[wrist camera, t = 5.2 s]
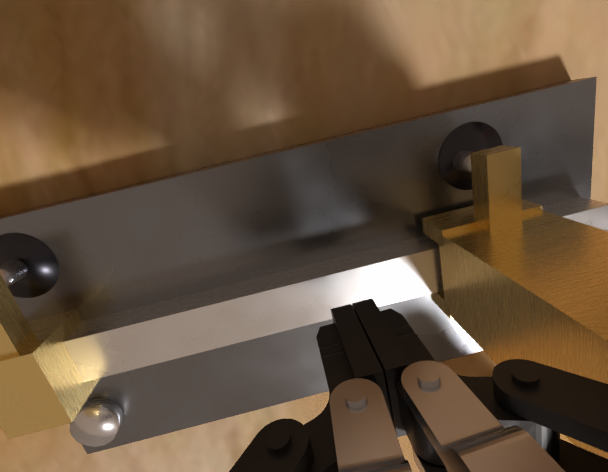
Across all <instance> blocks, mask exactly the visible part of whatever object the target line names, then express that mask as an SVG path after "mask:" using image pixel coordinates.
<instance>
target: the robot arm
mask: <svg viewBox="0 0 608 472" xmlns="http://www.w3.org/2000/svg"><path fill="white" fill-rule="evenodd" d="M331 314H332V319H333V324H329V325H325V326H321V327H320V328H319V331H318V333H317V336H316V338H317V343H318V347H319V351H320V355H321V359H322V363H323V367H324V371H325V375H326V380H327V384H328V388H329V393H330V396H329V401H328V404H327V406H326V407H325V409H324V410H323V411H322V413H321V414H320V415H318V416H317V417H316V418H314V419H313V420H311V421H310V422H308V423H306V424H304V425H303V424H301V423H300V422H298V421H296V420H293V419H280V420H276V421H274V422H271V423H270V424H268V425H266V426H265V427H264V428H263V429H262V430H260V432H259V433H258V434H257V435H256V437H255V438H254V439H253V441H252V442H251V443H250V445H249V446H248V447H247V449H246V450H245V451H244V453H243V454H242V455H241V457H240V458H239V459H238V461H237V462H236V463H235V465H234V466H233V467H232V469H231V470H230V471H229V472H412V470H411V467H410V465H409V462H408V461H407V460H405V459H404V456H403V453H402V450H401V447H400V444H399V441H398V438H397V437H400V436H404V435H407V436H408V438H409V440H410V442H411V445H412V450H413V456H414V460H415V463H416V465H417V467H418V469H419V471H420V472H608V459H606V458H604V457H602V456H599V455H597V454H595V453H592V452H590V451H587V450H585V449H583V448H580V447H578V446H576V445H573V444H571V443H569V442H566V441H564V440H561V439H560V433H561V434H563V435H566V436H568V437H571V438H573V439H576V440H578V441H580V442H583V443H585V444H588V445H590V446H593V447H595V448H597V449H600V450H602V451H605V452H607V453H608V384H606V383H603V382H600V381H596V380H593V379H590V378H586V377H583V376H580V375H577V374H573V373H570V372H567V371H563V370H560V369H557V368H554V367H550V366H547V365H544V364H540V363H537V362H534V361H530V360H524V359H510V360H506V361H503V362H501V363H499V364H498V365H496V367H495V368H494V370H493V377H466V376H460V375H457V374H456V373H455V372H454V371H453V370H452V369H451V368H450V367H448V366H447V365H445V364H443V363H440V362H436V361H435V360H434V358H433V357H432V355H431V354H430V353H429V351H428V350H427V348H426V347H425V346H424V344H423V343H422V341H421V340H420V339H419V337H418V336H417V334H416V333H415V332H414V330H413V329H412V328H411V326H409V323H408V322H407V321H406V319H405V318H404V316H403V315H402V314H400V313H398V312H396V311H395V310H393V309H391V308H390V309H387V310H383V311H380V310H379V308H378V307H377V305H376V303H375V302H374V300H373V299H372V298H371V299H367V300H363V301H360V302H356V303H352V305H351V304H348V305H344V306H340V307H336V308H333V309H331Z"/></svg>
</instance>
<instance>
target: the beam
mask: <svg viewBox="0 0 608 472" xmlns="http://www.w3.org/2000/svg"><path fill="white" fill-rule="evenodd" d="M542 210H543V211H546V212H549V213H552V214H555V215H558V216H561V217H564V218H568V219H571V220H574V221H577V222H580V223H583V224H586V225H589V226H593V227H596V228H599V229H602V230H605V231H608V203H603V202H599V201H595V200H591V199H587V198H582V197H578V198H574V199H570V200H566V201H562V202H558V203H554V204H550V205H546V206H542ZM26 274H27V267H26V265H25V264H24V263H23V262H21V261H19V260H10V261H8V262H6V263H4V264H3V265H1V266H0V427H1V429H2V430H3V432H4V433H5V435H6V436H7V438H8V439H10V438H14V437H18V436H22V435H26V434H30V433H34V432H38V431H41V430H45V429H49V428H53V427H57V426H61V425H65V424H68V423H72V422H73V420H74V419H75V417H76V416H77V414H78V412H79V411H80V409H81V408H82V406H83V405H84V403H85V401H86V400H87V398H88V397H89V395H90V394H91V392H92V390H93V389H94V387H95V386H96V384H97V383H98V381H99V380H100V378H102V377H106V376H110V375H114V374H118V373H122V372H126V371H130V370H134V369H138V368H142V367H146V366H149V365H153V364H157V363H161V362H165V361H169V360H173V359H177V358H181V357H185V356H189V355H193V354H196V353H200V352H204V351H208V350H212V349H216V348H220V347H224V346H228V345H232V344H236V343H239V342H243V341H247V340H251V339H255V338H259V337H263V336H267V335H271V334H275V333H279V332H283V331H286V330H290V329H294V328H298V327H302V326H306V325H310V324H314V323H318V322H322V321H326V320H330V319H332V314H331V309H333V308H336V307H340V306H344V305H348V304H351V305H352V303H356V302H360V301H363V300H367V299H371V298H372V299H373V300H374V302H375V303H376V305H377V307H380V306H384V305H388V304H392V303H396V302H400V301H404V300H408V299H412V298H416V297H420V296H423V295H427V294H431V293H435V292H439V291H443V281H442V271H441V261H440V251H439V244H438V243H437V242H435V241H434V240H432V239H431V238H430V237H428V236H427V235H426V236H422V237H418V238H414V239H410V240H406V241H402V242H398V243H394V244H390V245H386V246H382V247H378V248H374V249H370V250H366V251H362V252H358V253H354V254H350V255H346V256H342V257H338V258H334V259H330V260H326V261H322V262H318V263H314V264H310V265H306V266H302V267H298V268H294V269H290V270H286V271H282V272H278V273H274V274H270V275H266V276H262V277H258V278H254V279H250V280H246V281H242V282H238V283H234V284H230V285H226V286H222V287H218V288H214V289H210V290H206V291H202V292H198V293H194V294H190V295H186V296H182V297H178V298H174V299H170V300H166V301H162V302H158V303H154V304H150V305H146V306H142V307H138V308H134V309H130V310H126V311H122V312H118V313H114V314H110V315H106V316H102V317H98V318H94V319H90V320H86V321H82V320H81V318H80V316H79V314H78V312H77V310H72V311H68V312H64V313H60V314H56V315H52V316H48V317H44V318H40V319H36V320H32V321H28V322H27V320H26V318H25V317H24V315H23V313H22V311H21V309H20V308H19V306H18V304H17V302H16V301H15V299H14V297H13V295H12V293H11V292H10V290H9V288H8V287H9V286H11V285H12V284H14V283H15V282H17V281H18V280H20V279H21V278H23V277H25V276H26Z"/></svg>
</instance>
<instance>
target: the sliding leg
mask: <svg viewBox="0 0 608 472" xmlns="http://www.w3.org/2000/svg"><path fill="white" fill-rule="evenodd" d="M453 166H454V167H455V168H456V169H457V170H460V171H464V172H468V173H471V175H472V190H473V206H469V207H465V208H461V209H457V210H453V211H449V212H445V213H441V214H437V215H433V216H429V217H425V218H422V224H423V232H424V234H425V235H427V236H428V237H430V238H431V239H432V240H434V241H435V242H437V243H438V244H439V251H440V261H441V271H442V281H443V291H439V292H435V293H431V299H432V301H433V302H434V303H435V304H436V305H437V306H438V307H439V308H440V309H441V310H442V311H443V312H444V313H445V314H446V315H447V316H448V318H449V319H450V320H452V319H454V320H455V321H456V322H457V323H458V324H459V325H460V326H461V327H462V328H463V330H464V331H465V332H466V333H467V334H468V335H469V336H470V337H471V338H472V339H473V340H474V341H475V342H476V343H477V344H478V345H479V346H480V347H481V348H482V349H483V350H484V351H485V352H486V354H487V355H488V356H489V357H490V358H491V359H492V360H493V361H494V362H495V363H496V364H497V365H498V364H499V363H501V362H503V361H506V360H510V359H524V360H530V361H534V362H537V363H540V364H544V365H547V366H550V367H554V368H557V369H560V370H563V371H567V372H570V373H573V374H577V375H580V376H583V377H586V378H590V379H593V380H596V381H600V382H603V383H606V384H608V231H605V230H602V229H599V228H596V227H593V226H589V225H586V224H583V223H580V222H577V221H574V220H571V219H568V218H564V217H561V216H558V215H555V214H552V213H549V212H546V211H543V210H542V205H539V204H536V203H532V202H529V201H526V200H522V186H521V147H514V146H504V145H501V146H497V147H493V148H488V149H484V150H480V151H476V152H470V151H460V152H458V153H457V154H456V155H455V156H454V158H453ZM565 436H566V435H565ZM566 437H567V438H568V439H569V440H570V441H571V442H572V443H573V444H574V445H576V446H578V447H580V448H583V449H585V450H587V451H590V452H592V453H595V454H597V455H599V456H602V457H604V458H606V459H608V453H607V452H605V451H602V450H600V449H597V448H595V447H593V446H590V445H588V444H585V443H583V442H580V441H578V440H576V439H573V438H571V437H568V436H566Z"/></svg>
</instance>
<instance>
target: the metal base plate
mask: <svg viewBox="0 0 608 472" xmlns="http://www.w3.org/2000/svg"><path fill="white" fill-rule="evenodd" d="M595 95H596V77H591V78H583V79H576V80H570V81H566V82H562V83H558V84H553V85H549V86H545V87H541V88H537V89H532V90H528V91H524V92H520V93H516V94H511V95H507V96H503V97H499V98H495V99H490V100H486V101H482V102H478V103H474V104H469V105H465V106H461V107H457V108H453V109H448V110H444V111H440V112H436V113H432V114H427V115H423V116H419V117H415V118H411V119H406V120H402V121H398V122H394V123H390V124H385V125H381V126H377V127H373V128H369V129H364V130H360V131H356V132H352V133H348V134H344V135H339V136H335V137H331V138H327V139H323V140H318V141H314V142H310V143H306V144H302V145H297V146H293V147H289V148H285V149H281V150H276V151H272V152H268V153H264V154H260V155H255V156H251V157H247V158H243V159H239V160H234V161H230V162H226V163H222V164H218V165H213V166H209V167H205V168H201V169H197V170H192V171H188V172H184V173H180V174H176V175H171V176H167V177H163V178H159V179H155V180H150V181H146V182H142V183H138V184H134V185H129V186H125V187H121V188H117V189H113V190H108V191H104V192H100V193H96V194H92V195H87V196H83V197H79V198H75V199H71V200H67V201H62V202H58V203H54V204H50V205H46V206H41V207H37V208H33V209H29V210H25V211H20V212H16V213H12V214H8V215H4V216H0V266H1V265H3V264H4V263H6V262H8V261H10V260H19V261H21V262H23V263H24V264H25V265H26V267H27V274H26V276H25V277H23V278H21V279H20V280H18V281H17V282H15V283H14V284H12V285H11V286H9V287H8V288H9V290H10V292H11V293H12V295H13V297H14V299H15V301H16V302H17V304H18V306H19V308H20V309H21V311H22V313H23V315H24V317H25V318H26V320H27V322H28V321H32V320H36V319H40V318H44V317H48V316H52V315H56V314H60V313H64V312H68V311H72V310H77V312H78V314H79V316H80V318H81V320H82V321H86V320H90V319H94V318H98V317H102V316H106V315H110V314H114V313H118V312H122V311H126V310H130V309H134V308H138V307H142V306H146V305H150V304H154V303H158V302H162V301H166V300H170V299H174V298H178V297H182V296H186V295H190V294H194V293H198V292H202V291H206V290H210V289H214V288H218V287H222V286H226V285H230V284H234V283H238V282H242V281H246V280H250V279H254V278H258V277H262V276H266V275H270V274H274V273H278V272H282V271H286V270H290V269H294V268H298V267H302V266H306V265H310V264H314V263H318V262H322V261H326V260H330V259H334V258H338V257H342V256H346V255H350V254H354V253H358V252H362V251H366V250H370V249H374V248H378V247H382V246H386V245H390V244H394V243H398V242H402V241H406V240H410V239H414V238H418V237H422V236H426V235H425V234H424V232H423V224H422V218H425V217H429V216H433V215H437V214H441V213H445V212H449V211H453V210H457V209H461V208H465V207H469V206H473V190H472V175H471V173H468V172H464V171H460V170H457V169H456V168H455V167H454V166H453V158H454V156H455V155H456V154H457V153H458V152H460V151H470V152H476V151H480V150H484V149H488V148H493V147H497V146H501V145H504V146H514V147H521V186H522V200H526V201H529V202H532V203H536V204H539V205H542V206H546V205H550V204H554V203H558V202H562V201H566V200H570V199H574V198H578V197H582V198H587V199H590V196H591V176H592V156H593V135H594V115H595ZM378 308H379V310H380V311H383V310H387V309H390V308H391V309H393V310H395V311H396V312H398V313H400V314H402V315H403V316H404V318H405V319H406V321H407V322H408V323H409V326H411V328H412V329H413V330H414V332H415V333H416V334H417V336H418V337H419V339H420V340H421V341H422V343H423V344H424V346H425V347H426V348H427V350H428V351H429V353H430V354H431V355H432V357H433V358H434V360H435V361H436V362H441V361H445V360H449V359H452V358H456V357H460V356H464V355H468V354H471V353H475V352H479V351H483V349H482V348H481V347H480V346H479V345H478V344H477V343H476V342H475V341H474V340H473V339H472V338H471V337H470V336H469V335H468V334H467V333H466V332H465V331H464V330H463V328H462V327H461V326H460V325H459V324H458V323H457V322H456V321H455V320H454V319H452V320H450V319H449V318H448V316H447V315H446V314H445V313H444V312H443V311H442V310H441V309H440V308H439V307H438V306H437V305H436V304H435V303H434V302H433V301H432V299H431V294H427V295H423V296H420V297H416V298H412V299H408V300H404V301H400V302H396V303H392V304H388V305H384V306H380V307H378ZM329 324H333V319H330V320H326V321H322V322H318V323H314V324H310V325H306V326H302V327H298V328H294V329H290V330H286V331H283V332H279V333H275V334H271V335H267V336H263V337H259V338H255V339H251V340H247V341H243V342H239V343H236V344H232V345H228V346H224V347H220V348H216V349H212V350H208V351H204V352H200V353H196V354H193V355H189V356H185V357H181V358H177V359H173V360H169V361H165V362H161V363H157V364H153V365H149V366H146V367H142V368H138V369H134V370H130V371H126V372H122V373H118V374H114V375H110V376H106V377H102V378H100V380H99V381H98V383H97V384H96V386H95V387H94V389H93V390H92V392H91V394H90V395H89V397H88V398H87V400H86V401H85V403H84V405H83V406H82V408H81V409H80V411H79V412H78V414H77V416H76V417H75V419H74V420H73V422H72V423H70V432H71V435H72V436H73V438H74V439H75V440H76V441H78V442H79V443H81V444H82V445H83V447H84V449H85V451H86V452H87V454H90V453H94V452H98V451H101V450H105V449H109V448H113V447H117V446H120V445H124V444H128V443H132V442H136V441H140V440H143V439H147V438H151V437H155V436H159V435H162V434H166V433H170V432H174V431H178V430H181V429H185V428H189V427H193V426H197V425H201V424H204V423H208V422H212V421H216V420H220V419H223V418H227V417H231V416H235V415H239V414H243V413H246V412H250V411H254V410H258V409H262V408H265V407H269V406H273V405H277V404H281V403H284V402H288V401H292V400H296V399H300V398H304V397H307V396H311V395H315V394H319V393H323V392H326V391H329V388H328V384H327V380H326V375H325V371H324V367H323V363H322V359H321V355H320V351H319V347H318V343H317V338H316V336H317V333H318V331H319V328H320V327H321V326H325V325H329Z"/></svg>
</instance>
